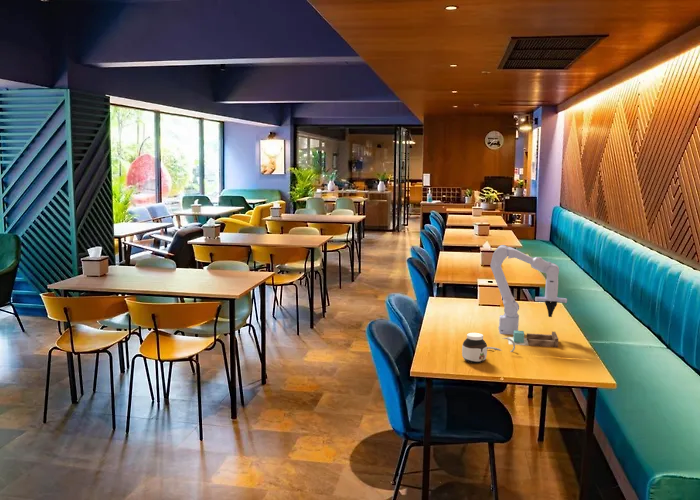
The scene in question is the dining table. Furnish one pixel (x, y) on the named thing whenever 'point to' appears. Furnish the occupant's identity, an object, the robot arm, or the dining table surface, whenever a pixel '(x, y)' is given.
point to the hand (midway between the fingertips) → (550, 316)
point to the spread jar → (474, 348)
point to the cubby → (538, 340)
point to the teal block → (518, 336)
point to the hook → (500, 349)
